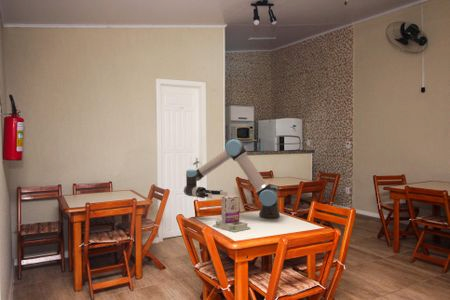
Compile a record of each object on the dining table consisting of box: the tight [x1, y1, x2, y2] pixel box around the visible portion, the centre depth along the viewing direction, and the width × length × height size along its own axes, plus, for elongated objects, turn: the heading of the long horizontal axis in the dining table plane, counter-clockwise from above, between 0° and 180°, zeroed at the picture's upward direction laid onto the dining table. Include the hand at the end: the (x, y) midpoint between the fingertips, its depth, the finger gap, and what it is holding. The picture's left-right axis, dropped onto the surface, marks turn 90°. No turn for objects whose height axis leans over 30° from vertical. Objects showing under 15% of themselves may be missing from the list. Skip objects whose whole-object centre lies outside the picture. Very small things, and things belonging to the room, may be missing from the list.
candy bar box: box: [221, 195, 240, 224], centre depth 224 cm, size 11×5×16 cm, turn 126°
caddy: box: [212, 219, 251, 233], centre depth 224 cm, size 14×20×4 cm
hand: (219, 194), depth 235 cm, fingers open, 13 cm apart
